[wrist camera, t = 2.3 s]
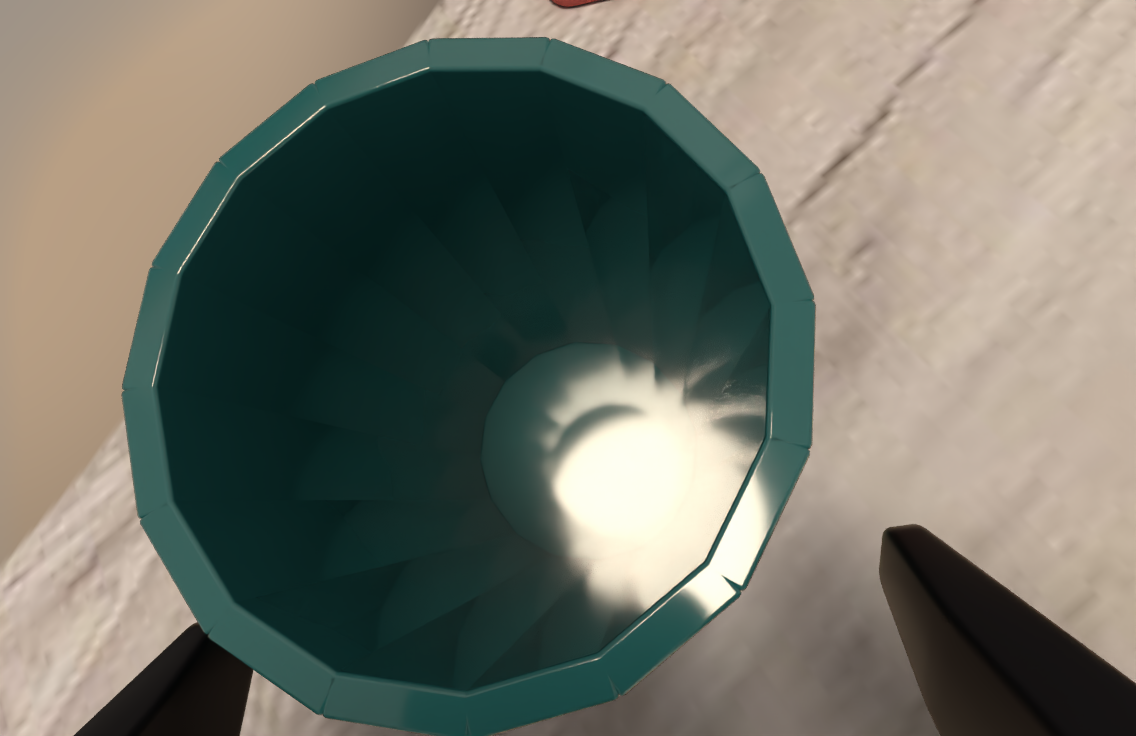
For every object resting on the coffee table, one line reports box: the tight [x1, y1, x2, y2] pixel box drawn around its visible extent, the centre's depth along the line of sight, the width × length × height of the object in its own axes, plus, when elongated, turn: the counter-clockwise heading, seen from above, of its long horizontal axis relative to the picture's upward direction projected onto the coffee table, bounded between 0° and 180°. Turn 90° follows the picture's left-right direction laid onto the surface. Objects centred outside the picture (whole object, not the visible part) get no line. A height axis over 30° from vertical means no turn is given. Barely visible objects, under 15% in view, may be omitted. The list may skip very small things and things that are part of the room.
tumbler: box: [122, 37, 816, 736], centre depth 12 cm, size 7×7×13 cm
